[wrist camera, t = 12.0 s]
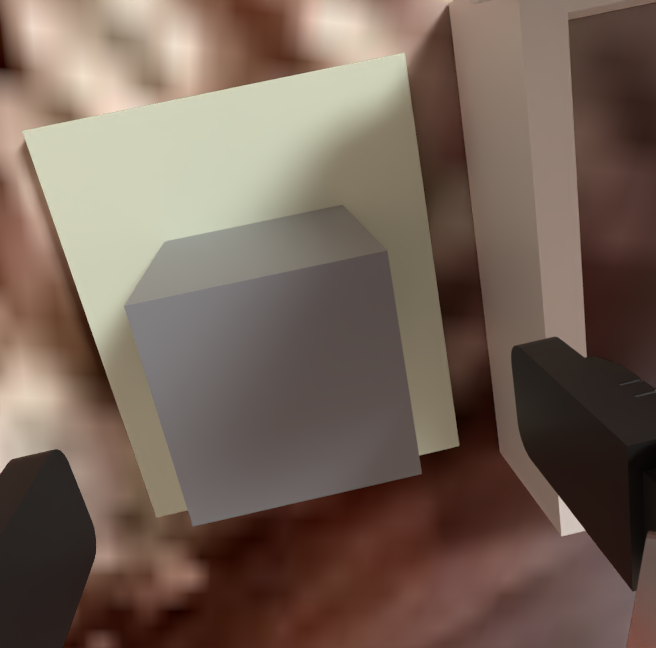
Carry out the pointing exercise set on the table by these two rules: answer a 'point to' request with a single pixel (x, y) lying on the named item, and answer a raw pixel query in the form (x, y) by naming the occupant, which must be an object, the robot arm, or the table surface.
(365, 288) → the block
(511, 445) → the case
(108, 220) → the mat
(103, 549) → the table surface
